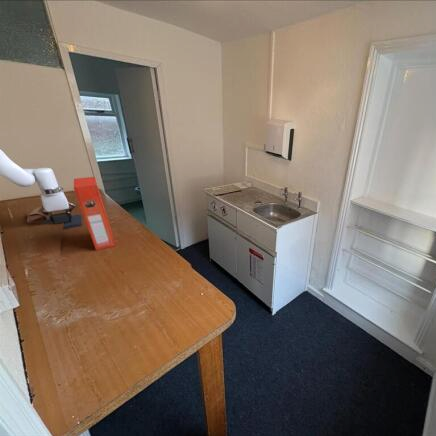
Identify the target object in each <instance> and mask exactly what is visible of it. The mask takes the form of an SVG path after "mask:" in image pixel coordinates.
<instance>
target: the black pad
mask: <svg viewBox="0 0 436 436" xmlns="http://www.w3.org/2000/svg"><path fill="white" fill-rule="evenodd" d="M52 214H53V213H52ZM53 220H54V223H53V224H54V225H59V224H64V223H65V222H69V218H68V216H67V212H66V211H65V212H59V213H54V214H53Z"/></svg>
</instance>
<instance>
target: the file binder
mask: <svg viewBox="0 0 436 436" xmlns="http://www.w3.org/2000/svg"><path fill="white" fill-rule="evenodd" d="M73 190H74V193H75V195H76V198H77V202H78V205H79V207H80V210H81V212H82V215H83V218H84V221H85V223H86V226H87V229H88V232H89V234H90V235H89V236H90V237H91V240H92V243H93V246H94V248H95V251H99V250H101V251H102V250H105V249H108V248H113V247H115V246H116V243H115V239H114V234H113V231H112V228H111V224H110V222H109V221H110V220H109V217H108V215H107V212H106V209H105V206H104V202H103V200H102V196H101V193H100V190H99V186H98V184H97V180H96V177H95V176H86V177H76V178H73Z"/></svg>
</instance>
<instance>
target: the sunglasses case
mask: <svg viewBox="0 0 436 436" xmlns="http://www.w3.org/2000/svg"><path fill="white" fill-rule="evenodd" d="M41 207H42V206H41ZM41 207H36V208H34V209H33V210H32V211H29V212H28V213H26V224H28V225H29V224H37V223H42V222H43V223H44V221H45V220H47V215H45V214H43V213H40V212H38V211H39V209H40V208H41ZM43 211H45V210H44V209H43Z"/></svg>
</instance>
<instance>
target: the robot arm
mask: <svg viewBox="0 0 436 436" xmlns="http://www.w3.org/2000/svg"><path fill="white" fill-rule="evenodd" d="M0 176H2V177H4V178H5V179H6V180H8V181H9V182H11V183H13V184H14V185H15V186H18V187H22V188H29V187H31V186H33V185H34V184H35V183H37V186H38V188H39V191H40V200H41V204H42V206H41V208H40V209H39V211H38V212H40V213H43V214H45V215H46V217H49V219H51V221H53V223H52V224H55V223H54V220H53V212H57V211H65V212H67V216H68V218H69V220H71V218H72V214H71V213H72V212H73V210H74V209H75V208H76V204H74V203H71V202H69V201H68V198H67V197H66V194H65V193H64V187H62V186H60V185H59V183H58V180H57V177H56V175H55V173H54V170H53V168H51V167H38V168H22V167H21V166H20V165H18V164H16V163H15V162H14V161H13V160H11V158H9V156H7V154H5V152H4V151H3V150H2V149H1V148H0ZM43 209H44V211H43Z"/></svg>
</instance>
